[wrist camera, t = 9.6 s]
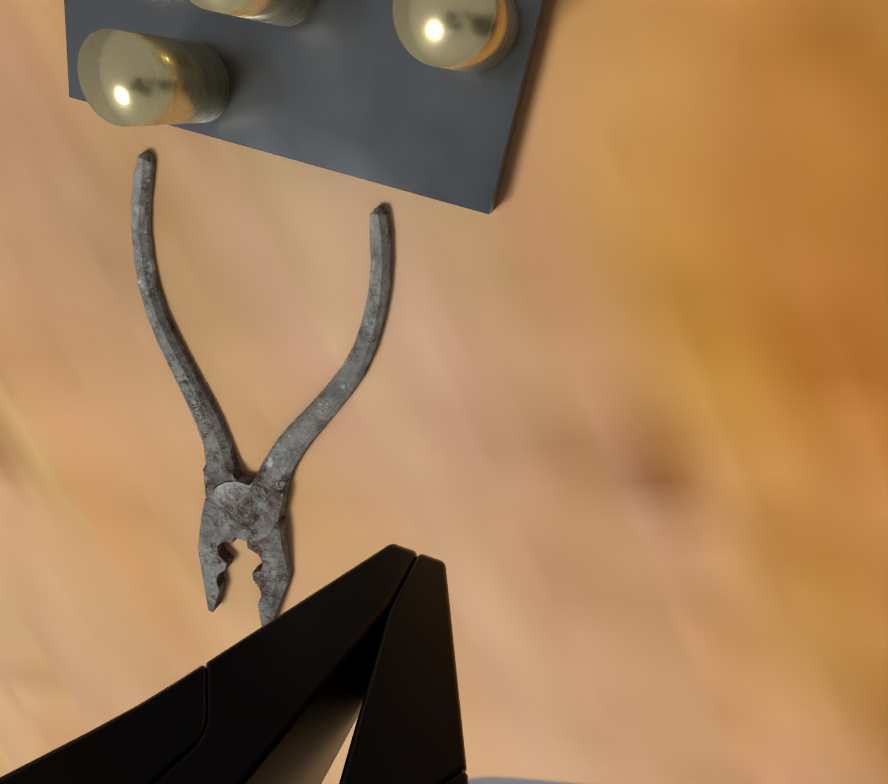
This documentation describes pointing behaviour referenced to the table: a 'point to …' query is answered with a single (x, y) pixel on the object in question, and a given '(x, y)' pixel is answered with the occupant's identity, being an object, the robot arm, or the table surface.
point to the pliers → (227, 490)
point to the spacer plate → (320, 81)
